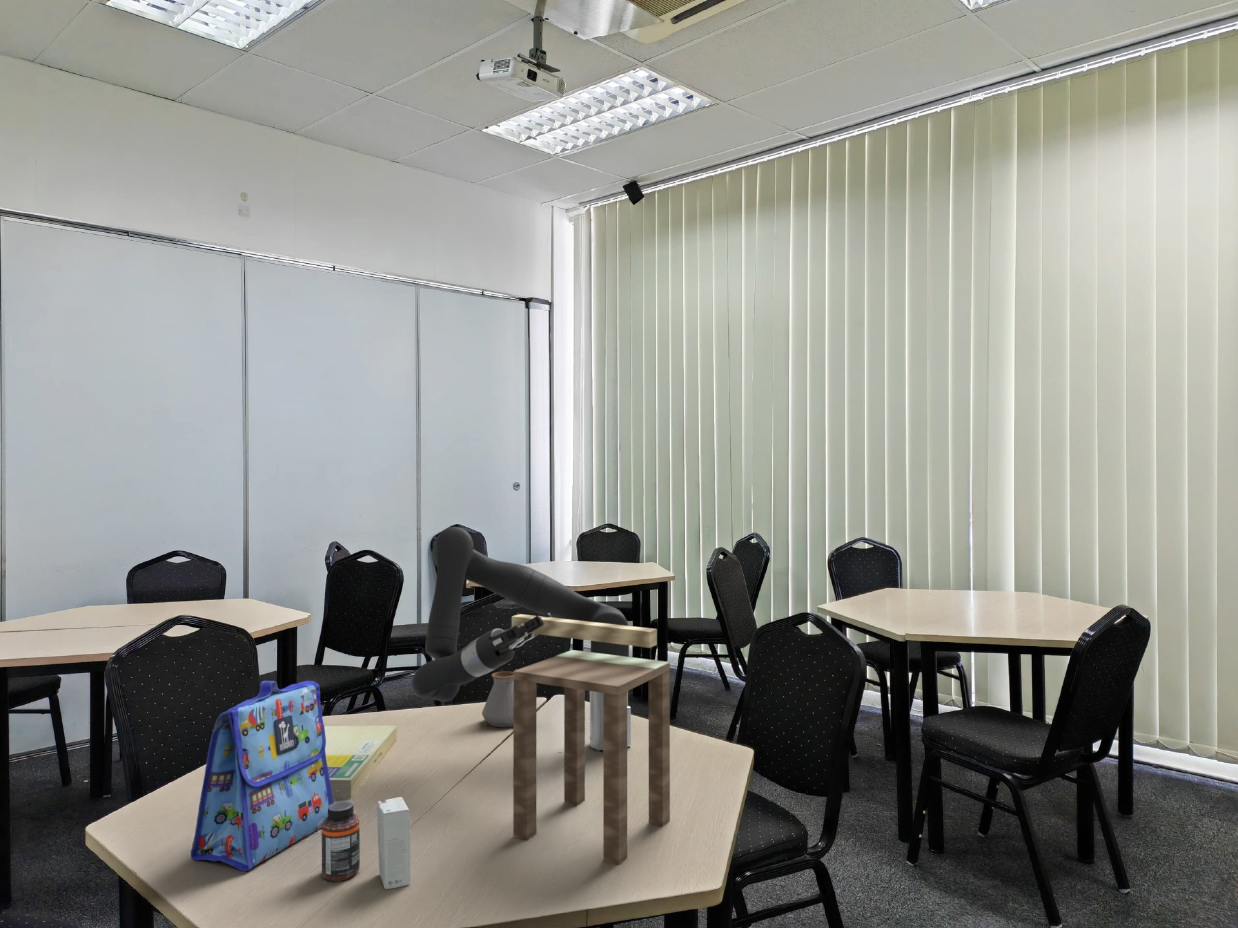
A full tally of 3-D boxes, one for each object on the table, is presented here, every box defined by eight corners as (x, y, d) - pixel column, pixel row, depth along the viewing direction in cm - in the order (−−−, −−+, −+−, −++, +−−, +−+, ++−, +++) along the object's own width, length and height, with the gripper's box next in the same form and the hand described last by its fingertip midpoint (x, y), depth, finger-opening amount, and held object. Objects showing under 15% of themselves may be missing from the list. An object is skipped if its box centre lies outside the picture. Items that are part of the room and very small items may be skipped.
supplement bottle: (327, 865, 135) (327, 798, 136) (363, 864, 136) (363, 796, 136) (316, 883, 129) (317, 812, 130) (354, 881, 130) (355, 811, 130)
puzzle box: (398, 743, 199) (301, 742, 199) (398, 724, 199) (301, 724, 199) (350, 803, 163) (231, 802, 163) (350, 780, 163) (231, 779, 163)
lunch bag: (249, 873, 133) (250, 698, 133) (187, 860, 137) (188, 691, 138) (338, 820, 153) (338, 669, 153) (281, 810, 158) (282, 663, 158)
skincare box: (411, 884, 129) (411, 808, 129) (383, 891, 127) (383, 814, 127) (404, 867, 135) (404, 795, 135) (376, 873, 133) (376, 799, 133)
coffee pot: (481, 730, 207) (481, 672, 207) (482, 717, 218) (482, 661, 218) (564, 726, 210) (564, 669, 210) (560, 713, 222) (560, 659, 222)
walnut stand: (513, 836, 146) (513, 670, 147) (572, 797, 164) (572, 649, 164) (618, 864, 136) (618, 686, 136) (669, 820, 153) (669, 661, 153)
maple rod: (511, 630, 166) (511, 616, 166) (520, 628, 169) (520, 614, 169) (649, 647, 151) (649, 631, 151) (656, 644, 153) (656, 628, 153)
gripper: (459, 642, 166) (518, 606, 159) (501, 631, 178) (557, 597, 171) (473, 676, 164) (533, 641, 157) (514, 662, 176) (572, 629, 169)
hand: (545, 618), depth 164 cm, fingers closed on maple rod, 3 cm apart
